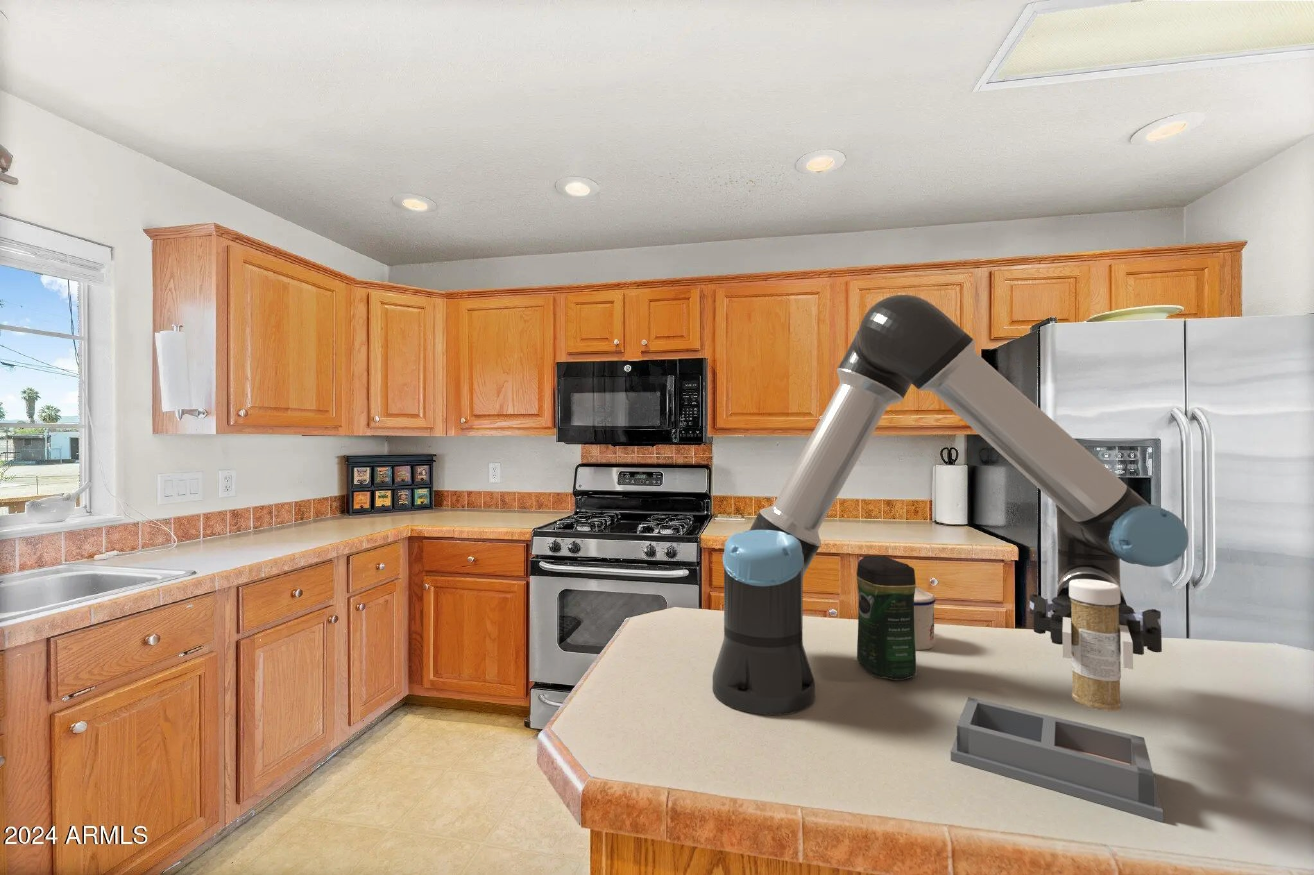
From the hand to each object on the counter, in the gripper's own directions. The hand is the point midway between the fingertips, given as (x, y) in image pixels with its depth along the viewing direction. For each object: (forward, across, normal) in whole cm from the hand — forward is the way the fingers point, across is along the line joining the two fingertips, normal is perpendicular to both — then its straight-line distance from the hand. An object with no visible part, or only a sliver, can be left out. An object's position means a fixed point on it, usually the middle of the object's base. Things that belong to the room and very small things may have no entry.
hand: (1096, 649), depth 59 cm
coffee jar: (-24, +27, -16) cm, 39 cm away
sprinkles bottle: (-5, 0, -8) cm, 9 cm away
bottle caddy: (-5, +4, -16) cm, 17 cm away
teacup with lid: (-41, +28, -16) cm, 52 cm away
